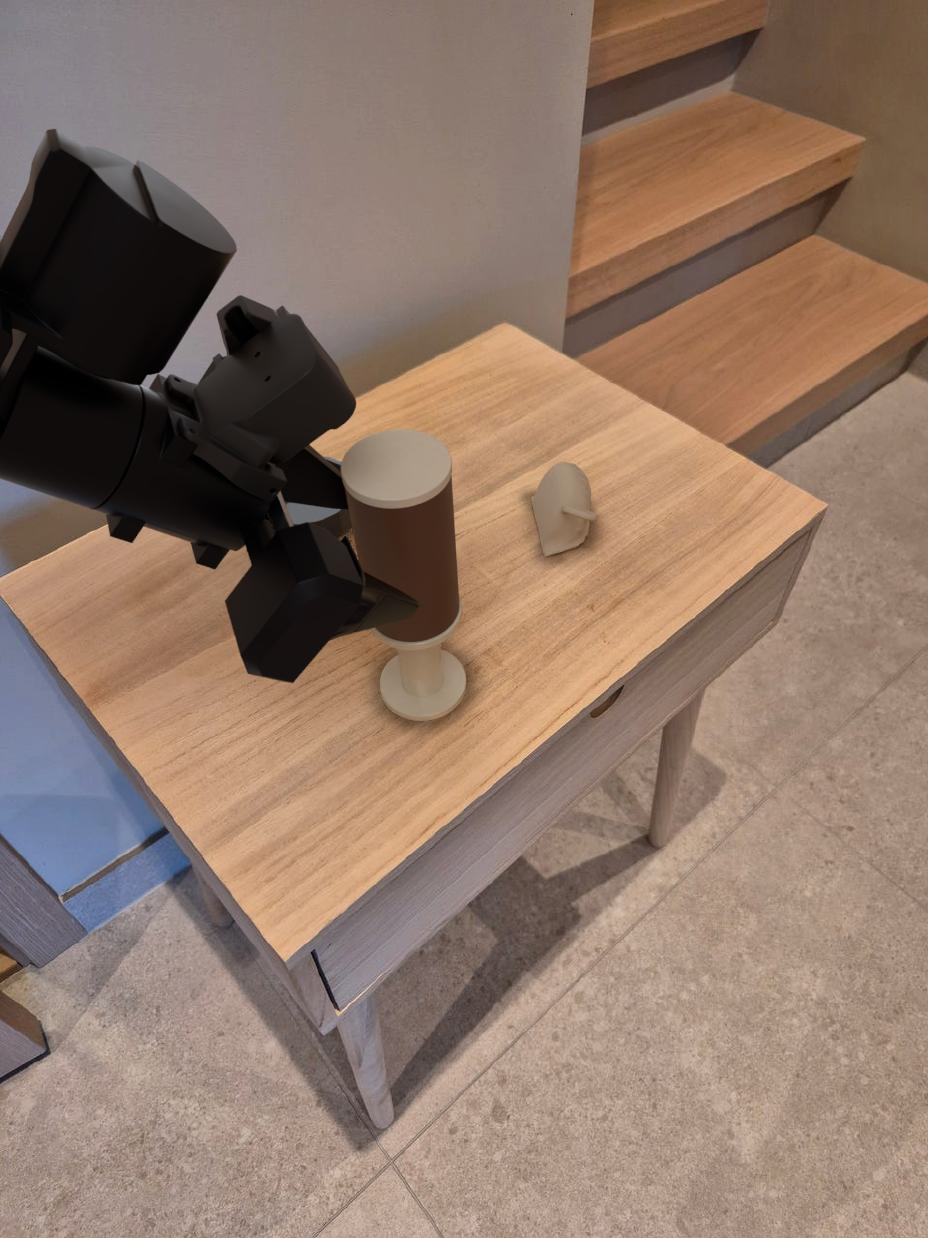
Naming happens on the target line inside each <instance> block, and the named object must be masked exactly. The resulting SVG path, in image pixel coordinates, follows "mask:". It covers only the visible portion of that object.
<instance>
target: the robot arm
mask: <svg viewBox="0 0 928 1238" xmlns="http://www.w3.org/2000/svg"><path fill="white" fill-rule="evenodd" d="M17 204H18V205H17V207H16V208H15V211H14V213H13V215H12V217H11V218H10V221H9V223H8V225H7V227H6V229H5V231H4V233H3V235H2V237H1V236H0V480H2V481H5V482H8V483H12V484H15V485H18V486H20V487H23V488H27V489H29V490H33V491H36V492H39V493H42V494H45V495H47V496H51V497H54V498H57V499H60V500H61V501H66V502H69V503H72V504H75V505H78V506H80V507H82V508H83V507H84V508H86V509H90V510H93V511H96V512H98V513H101V514H105V517H106V521H107V522H106V523H107V527H108V528H107V529H108V533H109V537H111V538H114V539H118V540H120V541H123V542H127V543H130V544H133V543H134V542H135V540H136V538H137V537H138V535H139V534H140V532H141V531H142V529H143V528H146V529H150V530H152V531H155V532H158V533H162V534H165V535H168V536H171V537H174V538H176V539H180V540H183V541H186V542H189V543H190V546H191V549H192V554H193V557H194V560H195V564H197V565H199V566H203V567H205V568H209V569H212V570H216V569H217V568H218V567H219V565H220V564H221V563H222V561H223V560H224V559H225V557H226V556H227V555H228V553H229V552H230V551H233V552H238V551H241V549H242V548H244V547H245V550H246V552H247V555H248V558H249V561H250V564H251V565H250V567H249V568H248V569H247V571H246V572H245V573H244V574H243V576H242V577H241V579H240V580H239V581H238V582H237V584H236V585H235V586H234V588H233V589H232V591H231V592H230V593H229V594H228V596H227V597H226V599H225V600H224V604H225V607H226V611H227V613H228V617H229V621H230V625H231V628H232V630H233V635H234V639H235V641H236V645H237V648H238V652H239V656H240V659H241V660H242V663H243V664H244V668H245V670H246V673H247V674H248V675H251V676H255V677H260V678H265V679H268V680H273V681H278V682H282V683H289V684H294V683H295V681H296V680H297V679H298V678H299V677H300V676H301V674H302V673H303V672H304V671H305V670H306V669H307V667H308V666H310V664H311V663H312V662H313V661H314V659H315V658H316V657H317V656H318V655H319V654H320V652H321V651H322V650H323V649H324V647H325V646H326V645H327V644H328V643H329V642H330V641H333V640H336V639H338V638H340V637H344V636H347V635H348V636H349V635H352V634H356V633H360V632H364V631H368V630H370V629H372V628H376V627H380V626H384V625H388V624H392V623H396V622H400V621H404V620H407V619H409V618H410V617H411V616H412V615H413V614H414V613H415V612H416V611H417V610H418V608H419V604H418V602H417V600H415V599H414V598H412V597H410V596H409V595H407V594H406V593H404V592H402V591H401V590H399V589H397V588H395V587H393V586H391V585H389V584H387V583H385V582H383V581H381V580H379V579H378V578H376V577H374V576H372V575H370V574H368V573H366V572H364V571H363V570H362V568H361V565H360V563H359V561H358V556H357V553H356V552H355V549H354V548H353V545H352V543H351V542H350V539H349V537H348V536H347V535H345V534H344V535H343V537H342V539H341V540H340V539H338V538H336V537H335V536H334V535H333V534H332V533H331V532H329V531H328V530H327V529H325V528H322V527H320V526H317V525H315V524H312V523H309V522H305V523H301V524H298V525H295V526H294V524H293V522H292V519H291V517H290V514H289V512H288V509H287V507H286V504H285V502H290V503H297V504H304V505H311V506H317V507H324V508H332V509H345V510H349V508H348V503H347V497H346V492H345V487H344V484H343V481H342V476H341V472H340V471H339V470H337V469H336V468H335V467H334V466H333V465H332V464H331V463H330V462H328V461H327V460H326V459H325V458H324V457H323V455H322V454H321V453H319V452H318V451H317V450H316V449H315V448H314V447H313V446H312V445H311V444H312V443H314V442H315V441H316V440H318V439H319V438H320V437H322V436H323V435H324V434H326V433H327V432H329V431H331V430H338V429H339V428H341V427H342V426H344V425H345V424H346V423H347V422H348V421H349V420H350V419H351V418H352V417H353V415H354V413H355V411H356V408H357V400H356V397H355V395H354V393H353V392H352V390H351V389H350V387H349V385H348V384H347V381H346V380H345V378H344V376H343V374H342V372H341V371H340V367H339V365H337V363H336V362H335V360H333V358H332V357H331V356H330V354H329V353H328V352H327V350H326V349H325V348H324V346H323V345H322V344H321V343H320V342H319V340H318V339H317V338H316V336H315V335H314V334H313V333H312V332H311V330H310V329H309V328H308V326H307V325H306V324H305V322H304V320H303V318H302V316H301V315H299V314H297V313H290V312H289V311H288V309H287V308H286V307H285V305H283V304H282V305H281V306H279V307H278V308H277V309H276V310H274V309H273V308H271V307H270V306H267V305H265V304H263V303H261V302H258V301H256V300H254V299H251V298H249V297H247V296H244V295H242V294H240V295H239V294H238V295H237V296H236V297H234V298H233V299H232V300H230V301H229V302H228V303H227V304H225V305H224V306H223V307H221V308H220V309H219V310H218V311H217V312H216V318H217V322H218V326H219V331H220V335H221V339H222V343H223V346H224V348H225V351H226V352H225V353H226V355H225V356H223V355H222V354H220V353H217V354H216V355H214V356H213V357H212V361H211V363H210V364H209V366H208V367H207V369H206V370H205V372H204V374H203V375H202V376H201V378H200V380H199V381H198V383H195V382H192V381H189V380H186V379H184V378H182V377H180V376H178V375H176V374H173V373H170V374H168V376H167V377H165V376H164V375H161V374H160V373H161V372H162V371H164V369H165V368H166V367H167V364H168V363H169V361H170V360H171V358H172V357H173V355H174V353H175V352H176V350H177V348H178V347H179V345H180V343H181V342H182V340H183V339H184V337H185V336H186V334H187V332H188V331H189V329H190V327H191V326H192V324H193V322H194V321H195V319H196V318H197V316H198V314H199V313H200V311H201V310H202V308H203V306H204V305H205V303H206V301H208V298H209V296H210V295H211V294H212V292H213V290H214V289H215V287H216V285H217V284H218V283H219V280H220V279H221V277H222V275H223V274H224V273H225V270H226V269H227V268H228V266H229V264H230V263H231V261H232V260H233V258H234V256H235V254H236V253H237V251H238V248H237V244H236V241H235V239H234V238H233V237H232V235H231V234H230V232H229V231H228V230H227V228H225V226H224V225H223V224H222V223H221V222H220V221H219V220H218V218H216V217H215V216H214V215H213V214H212V213H211V212H210V211H209V210H208V209H207V208H206V207H204V206H203V204H201V203H200V202H199V201H197V200H196V198H194V197H193V196H192V195H190V193H188V192H186V191H185V190H184V189H183V188H181V187H180V186H178V185H177V184H176V183H175V182H173V181H172V180H170V178H168V177H166V176H165V175H163V174H162V173H161V172H159V171H158V170H156V169H155V168H153V167H151V166H150V165H148V164H147V163H145V162H143V161H142V160H140V159H137V160H136V162H135V163H134V162H133V161H131V160H129V159H127V158H125V157H123V156H121V155H119V154H118V153H114V152H112V151H110V150H108V149H105V148H101V147H99V146H94V145H93V146H92V145H90V146H87V145H86V146H84V145H82V144H81V143H79V142H77V140H74V139H73V138H71V137H70V136H69V135H67V134H65V133H64V132H62V131H60V130H58V129H57V128H50V129H47V130H46V131H45V132H44V135H43V137H42V138H41V141H40V143H39V145H38V147H37V149H36V151H35V153H34V156H33V158H32V161H31V166H30V171H29V177H28V182H27V185H26V188H25V190H24V192H23V194H22V196H21V198H20V200H19V202H18V203H17ZM152 375H156V376H155V378H154V379H153V381H152V383H151V384H150V385H149V387H146V386H145V385H143V383H144V381H145V380H146V378H147V377H148V376H152Z"/></svg>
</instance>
